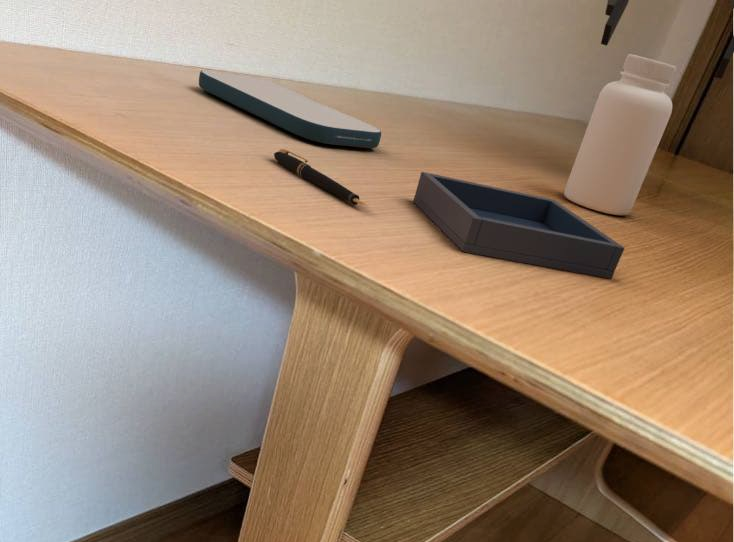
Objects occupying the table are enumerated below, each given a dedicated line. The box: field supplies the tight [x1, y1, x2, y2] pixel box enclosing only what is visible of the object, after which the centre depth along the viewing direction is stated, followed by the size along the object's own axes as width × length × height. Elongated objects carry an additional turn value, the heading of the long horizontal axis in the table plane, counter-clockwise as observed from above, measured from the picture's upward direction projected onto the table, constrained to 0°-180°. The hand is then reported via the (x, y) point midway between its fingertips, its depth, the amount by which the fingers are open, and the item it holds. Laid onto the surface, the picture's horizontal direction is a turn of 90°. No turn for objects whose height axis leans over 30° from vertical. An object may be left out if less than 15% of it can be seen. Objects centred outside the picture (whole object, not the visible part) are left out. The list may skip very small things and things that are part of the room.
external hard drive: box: [198, 69, 382, 149], centre depth 93 cm, size 24×12×2 cm, turn 40°
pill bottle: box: [563, 53, 677, 216], centre depth 90 cm, size 8×8×15 cm
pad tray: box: [412, 171, 625, 280], centre depth 70 cm, size 14×14×3 cm
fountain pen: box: [273, 148, 367, 206], centre depth 70 cm, size 14×1×2 cm, turn 35°
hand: (663, 52), depth 93 cm, fingers open, 13 cm apart
